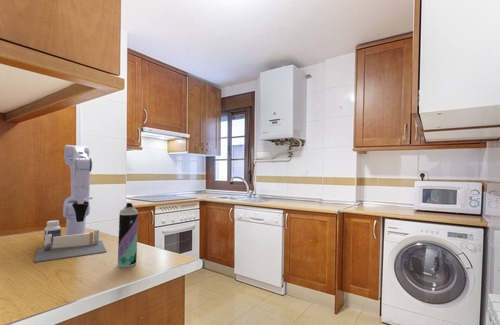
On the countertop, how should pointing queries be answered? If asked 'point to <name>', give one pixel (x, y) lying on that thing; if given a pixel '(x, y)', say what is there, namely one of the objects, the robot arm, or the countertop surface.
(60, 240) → the gate
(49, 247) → the posts
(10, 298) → the countertop surface
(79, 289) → the countertop surface
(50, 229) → the pill bottle
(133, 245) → the spray can
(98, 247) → the mat
